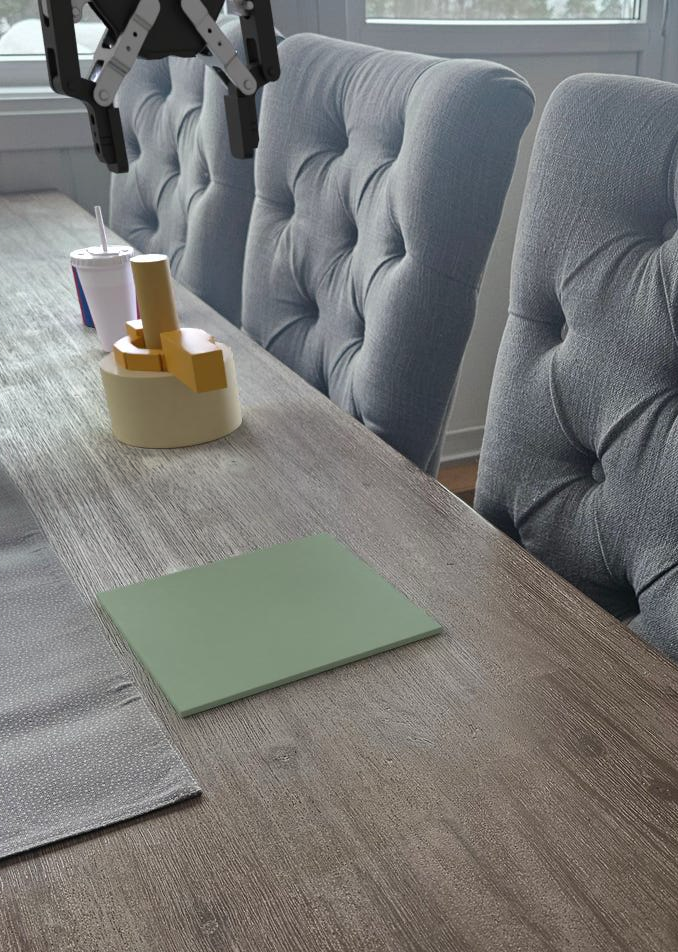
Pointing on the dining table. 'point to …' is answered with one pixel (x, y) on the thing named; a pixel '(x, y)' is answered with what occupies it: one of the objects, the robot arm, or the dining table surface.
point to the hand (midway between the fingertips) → (182, 164)
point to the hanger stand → (164, 378)
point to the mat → (261, 620)
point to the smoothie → (107, 286)
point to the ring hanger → (175, 356)
